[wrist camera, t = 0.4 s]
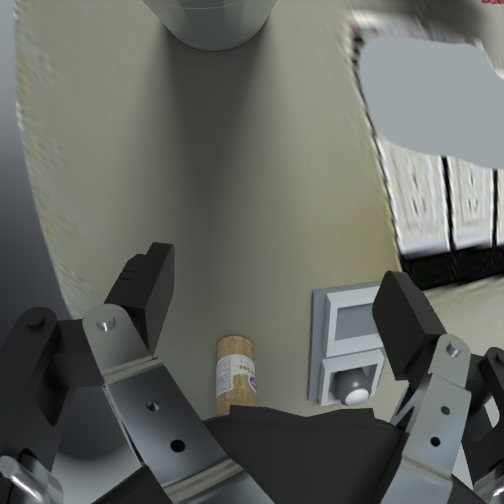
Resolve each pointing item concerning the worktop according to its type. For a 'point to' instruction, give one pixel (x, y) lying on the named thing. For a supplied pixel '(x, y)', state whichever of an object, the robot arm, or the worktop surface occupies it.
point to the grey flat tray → (344, 345)
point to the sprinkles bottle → (235, 374)
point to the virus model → (493, 1)
